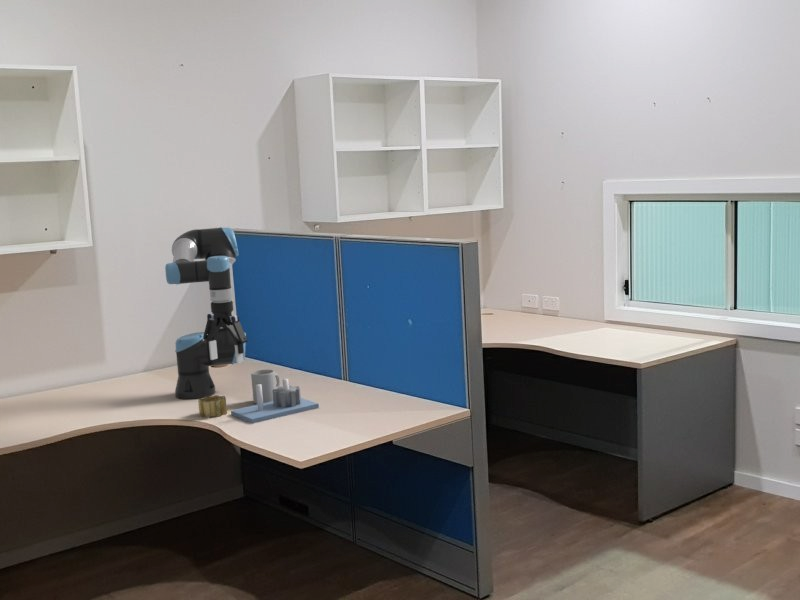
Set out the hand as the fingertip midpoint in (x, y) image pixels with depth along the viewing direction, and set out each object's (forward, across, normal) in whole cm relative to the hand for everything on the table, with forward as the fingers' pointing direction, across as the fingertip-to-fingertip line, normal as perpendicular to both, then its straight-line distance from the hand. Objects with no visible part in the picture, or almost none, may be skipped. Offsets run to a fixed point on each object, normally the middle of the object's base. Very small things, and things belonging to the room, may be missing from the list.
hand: (226, 361), depth 325 cm
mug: (+19, -1, +18) cm, 26 cm away
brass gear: (+19, -5, -4) cm, 20 cm away
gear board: (+19, +13, +8) cm, 24 cm away
